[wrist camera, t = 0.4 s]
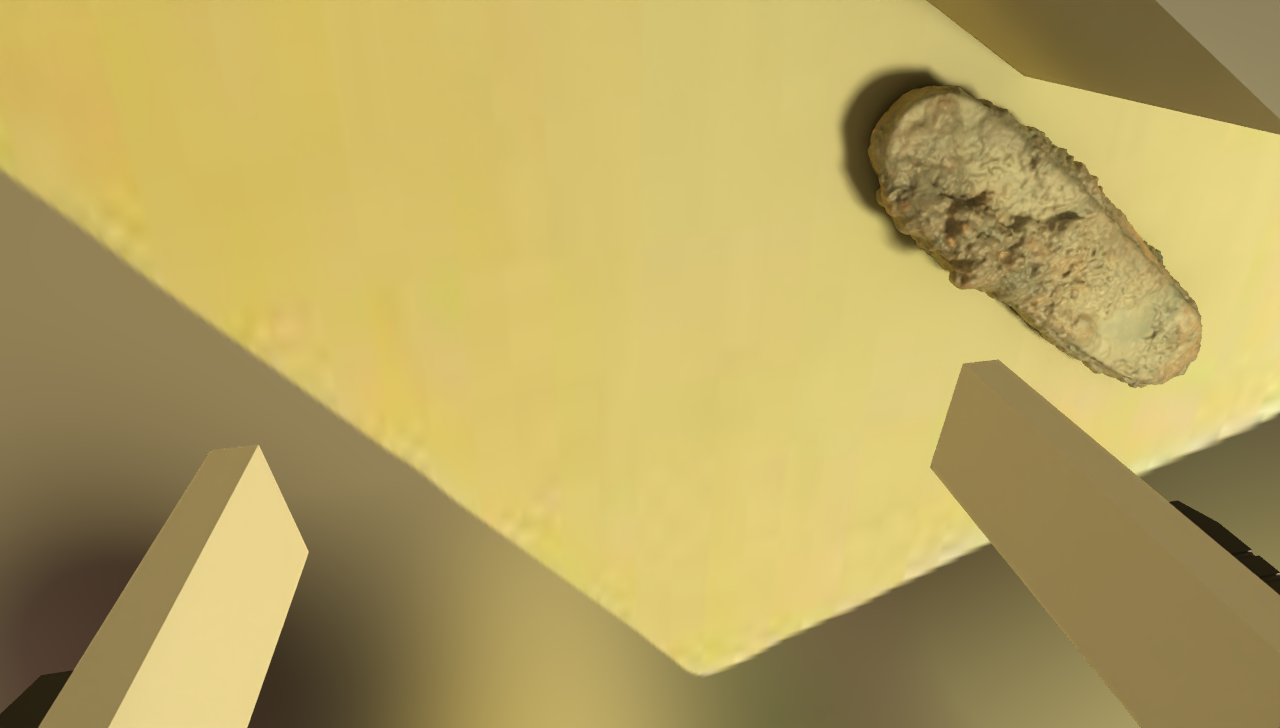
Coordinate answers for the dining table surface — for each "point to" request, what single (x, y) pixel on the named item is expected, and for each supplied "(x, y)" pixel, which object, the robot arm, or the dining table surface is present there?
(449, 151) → the dining table surface
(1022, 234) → the long grey stone
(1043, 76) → the camera box
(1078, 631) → the robot arm
